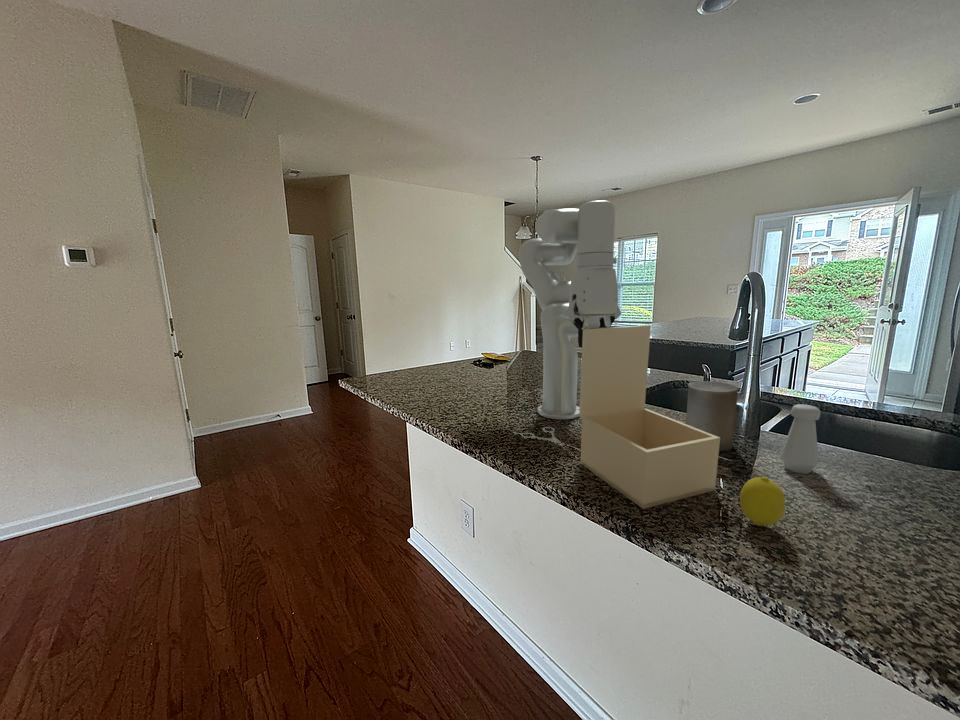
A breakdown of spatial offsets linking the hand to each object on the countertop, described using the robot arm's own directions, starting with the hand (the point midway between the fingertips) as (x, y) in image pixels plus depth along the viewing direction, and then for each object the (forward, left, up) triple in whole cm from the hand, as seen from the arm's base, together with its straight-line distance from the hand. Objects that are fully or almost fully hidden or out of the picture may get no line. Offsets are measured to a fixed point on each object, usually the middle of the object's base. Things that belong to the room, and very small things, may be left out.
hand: (592, 346), depth 87 cm
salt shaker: (+26, +30, -23) cm, 46 cm away
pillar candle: (+10, +25, -23) cm, 36 cm away
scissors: (-4, -7, -24) cm, 25 cm away
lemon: (+36, +5, -23) cm, 43 cm away
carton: (+17, 0, -23) cm, 29 cm away
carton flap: (+8, 0, -4) cm, 9 cm away
